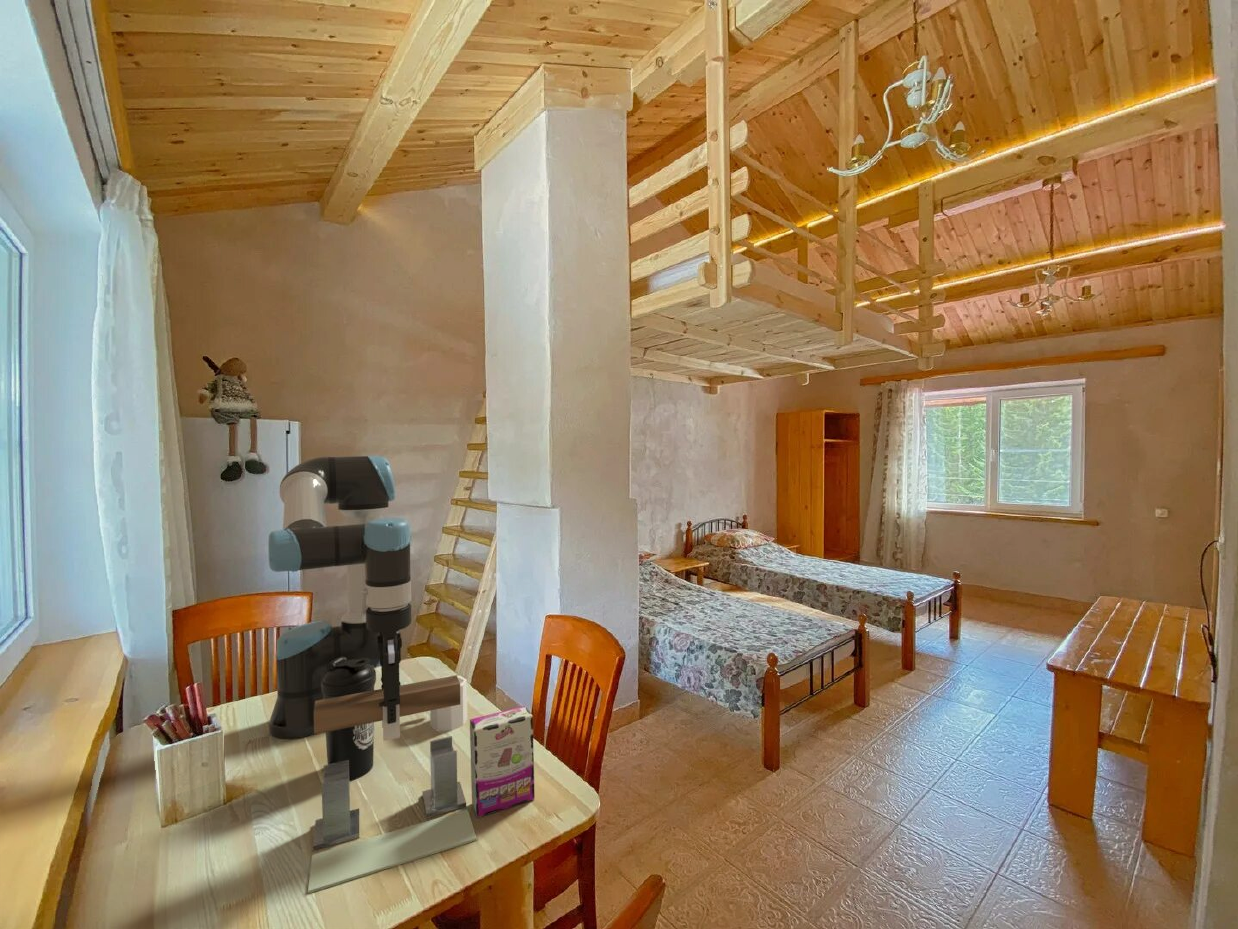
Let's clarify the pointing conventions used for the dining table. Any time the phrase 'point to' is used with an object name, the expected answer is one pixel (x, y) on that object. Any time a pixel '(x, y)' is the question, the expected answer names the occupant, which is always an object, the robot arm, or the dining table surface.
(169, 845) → the dining table surface
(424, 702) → the rail
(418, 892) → the dining table surface
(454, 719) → the mug
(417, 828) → the mat
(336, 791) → the post
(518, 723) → the candy bar box
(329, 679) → the water bottle
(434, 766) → the post
